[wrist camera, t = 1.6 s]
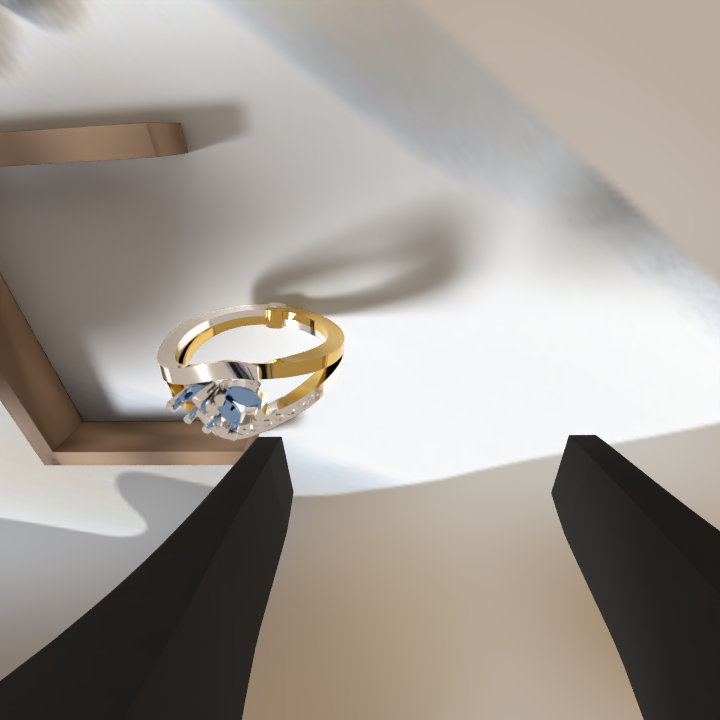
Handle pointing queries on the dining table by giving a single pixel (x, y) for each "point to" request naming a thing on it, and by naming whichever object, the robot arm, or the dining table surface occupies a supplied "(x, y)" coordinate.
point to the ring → (247, 370)
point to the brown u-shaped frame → (32, 368)
